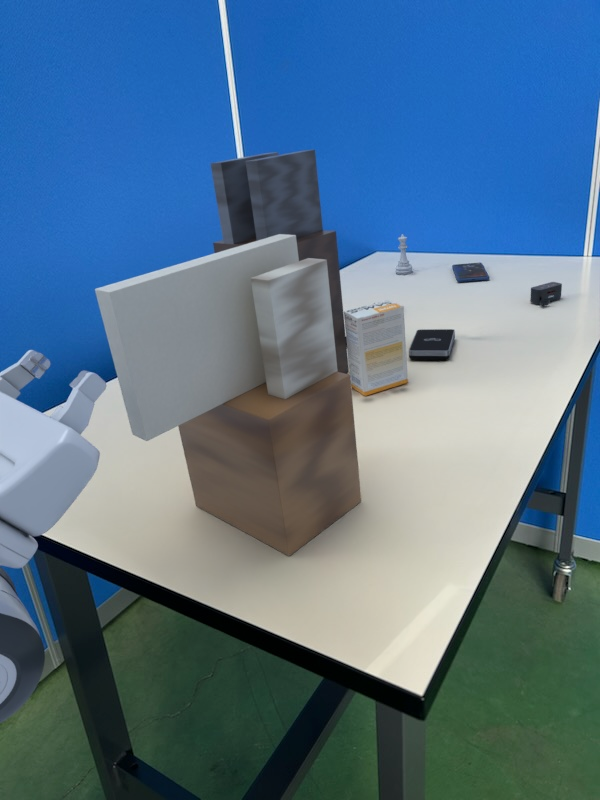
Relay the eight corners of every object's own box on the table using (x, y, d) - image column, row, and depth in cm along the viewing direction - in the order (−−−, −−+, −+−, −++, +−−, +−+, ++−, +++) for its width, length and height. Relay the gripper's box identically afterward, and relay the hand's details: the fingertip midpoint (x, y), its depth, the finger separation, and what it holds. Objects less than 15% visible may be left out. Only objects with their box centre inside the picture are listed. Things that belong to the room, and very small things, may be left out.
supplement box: (393, 374, 104) (388, 298, 98) (408, 383, 100) (405, 305, 94) (349, 387, 101) (342, 310, 96) (363, 397, 97) (357, 317, 92)
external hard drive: (455, 339, 115) (455, 329, 114) (449, 362, 106) (449, 351, 105) (417, 339, 118) (417, 329, 117) (408, 361, 108) (408, 351, 107)
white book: (146, 441, 57) (109, 291, 51) (132, 434, 58) (94, 289, 52) (310, 360, 70) (296, 234, 64) (295, 356, 72) (279, 233, 66)
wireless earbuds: (525, 304, 129) (526, 288, 128) (552, 296, 131) (553, 281, 130) (542, 308, 125) (543, 293, 124) (569, 301, 127) (570, 285, 126)
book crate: (289, 556, 64) (248, 294, 53) (195, 506, 75) (144, 278, 63) (361, 501, 72) (340, 260, 60) (267, 462, 82) (233, 251, 71)
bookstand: (301, 398, 100) (270, 159, 85) (236, 378, 110) (199, 163, 95) (348, 372, 107) (328, 148, 92) (283, 356, 118) (256, 153, 103)
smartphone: (457, 279, 148) (451, 264, 162) (457, 282, 149) (451, 267, 162) (490, 276, 147) (482, 262, 160) (490, 280, 147) (482, 265, 161)
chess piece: (414, 270, 165) (412, 232, 160) (410, 274, 161) (409, 235, 157) (397, 270, 166) (395, 232, 162) (394, 275, 163) (391, 236, 158)
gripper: (-66, 484, 55) (39, 366, 60) (35, 577, 42) (160, 415, 46) (-130, 446, 51) (-12, 322, 56) (-41, 536, 38) (105, 362, 42)
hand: (67, 365), depth 51 cm, fingers open, 8 cm apart
